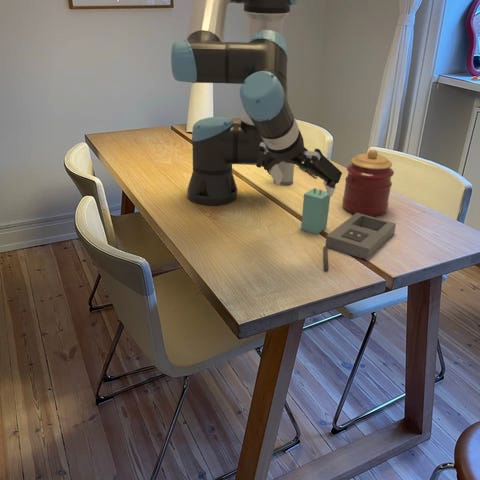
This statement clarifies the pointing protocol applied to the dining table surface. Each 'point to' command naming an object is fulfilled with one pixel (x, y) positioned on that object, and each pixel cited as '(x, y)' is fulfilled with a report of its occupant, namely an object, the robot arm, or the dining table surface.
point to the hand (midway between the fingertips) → (305, 185)
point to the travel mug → (286, 172)
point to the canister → (368, 184)
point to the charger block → (315, 211)
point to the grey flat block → (360, 235)
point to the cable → (325, 258)
